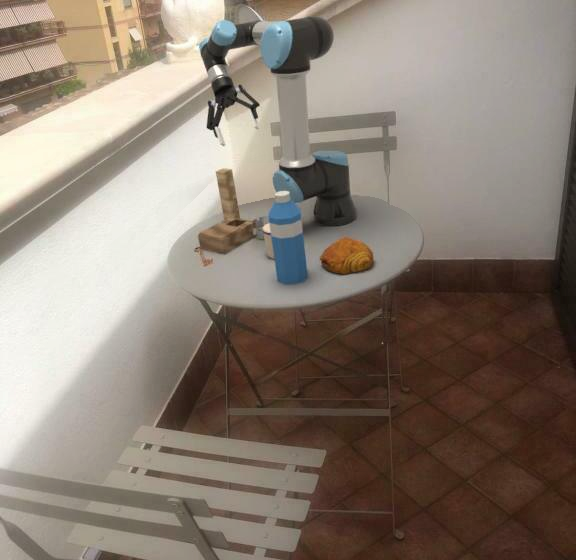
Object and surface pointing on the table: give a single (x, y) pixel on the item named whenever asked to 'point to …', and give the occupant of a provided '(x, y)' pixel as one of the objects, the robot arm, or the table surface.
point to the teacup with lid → (268, 241)
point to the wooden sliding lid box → (226, 235)
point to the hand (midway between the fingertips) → (239, 136)
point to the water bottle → (287, 240)
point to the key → (203, 257)
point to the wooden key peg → (227, 193)
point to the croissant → (347, 256)
